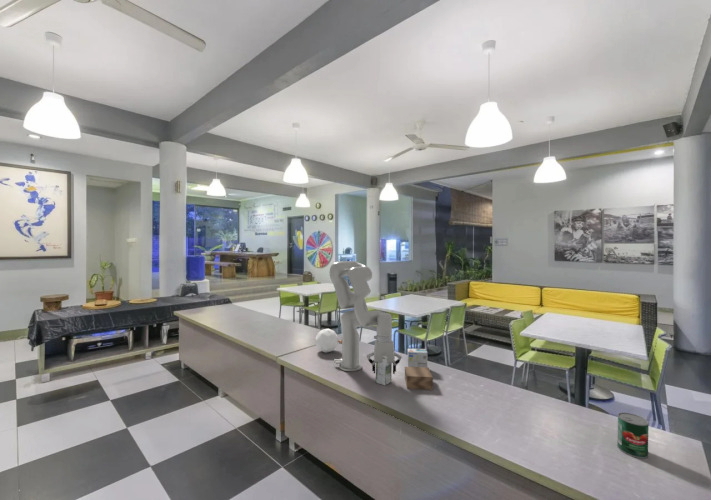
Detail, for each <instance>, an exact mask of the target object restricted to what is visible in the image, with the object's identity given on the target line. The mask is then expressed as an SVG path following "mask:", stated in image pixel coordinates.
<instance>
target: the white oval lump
mask: <svg viewBox="0 0 711 500" xmlns="http://www.w3.org/2000/svg"><path fill="white" fill-rule="evenodd" d="M338 344H340V345H342V339H339V338H338V335H337V332H336V331H335V330H333V329H330V328H323V329H321V330H320V331H318V332H317V334H316V336H315V346H316V347H317V349H318V350H319V351H321V352H323V353H325V354H326V353H331V352H333V351H334V350H335V349H336V348H337V346H338Z"/></svg>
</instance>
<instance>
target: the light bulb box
mask: <svg viewBox="0 0 711 500" xmlns="http://www.w3.org/2000/svg"><path fill="white" fill-rule="evenodd" d="M407 367H428V351H427V348H407Z"/></svg>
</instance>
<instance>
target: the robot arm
mask: <svg viewBox="0 0 711 500" xmlns="http://www.w3.org/2000/svg"><path fill="white" fill-rule="evenodd" d="M345 277H348V280H349V283H350V284H349V283H348V281H347V280H346V279H345ZM329 278H330V280H331V284H332V285H333V287H334V291H335V294H336V295H335V296H336V299H337V302H338V306H339V308H340V309H341V310H348V311H345V312H344V313H342V314H341V315H340V324H341V336H342V337H341V340H342V344H341V349H342V350H341V358H339V359H337V358H334V360H333V361H334V363H335V365H339V367H338V368H339V369H340V370H341V371H343V372H357V371H360V370H361V369H362V368H363V367H362V366H363V365H362V364H361V363H360V334H359V332H358V330H357V328H360V327H363V328H370V327H374V326H376V335H374V336H373V339H375V341H374V346H373V349H374V351H372V352H370V353H369V354H367V355H366V358H367V361H368V362H369V363H370V364H371V365H372V366H371V368H372V369H371V370H372V372H373V374H376V362H379V363H382V362H383V358H382V356H387V363H392V374H393V375H395V372H397V365H398V364H400V362H401V361H402V358H403V357H402V355H400V354H398V353H396V352H395V343H394V341H393V334H392V333H393V332H392V331H393V330H392V329H393V324H392V323H393V317H392V314H390V313H387V312H383V311H382V310H379V309H377V310H370V311H369V309H368V306H367V302H366V299H365V298H367V296H369V295H370V294H371V291H372V290H371V288H370V286H369V283H368V282H369V281H371V280H372V279H373V272H372V270H371V268H370V267H368V266H367V265H365V264H363V263H360V262H358V261H355V260H349V261H348V260H342V261H336V262H334V263H332V264H331V265H330V268H329ZM350 285H351V288H352V290H353V291H352V290H351V288H350ZM350 309H352V310H350ZM371 357H373V359H372V358H371ZM395 357H396V358H397V359H396V360H395Z"/></svg>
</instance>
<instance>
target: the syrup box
mask: <svg viewBox="0 0 711 500" xmlns="http://www.w3.org/2000/svg"><path fill="white" fill-rule="evenodd" d="M382 358H383V362H382V363H379V362H376V363H375V383H377V384H379V385H382V386H387V385H388V384H390V383H391V382H392V374H393V363H387V356H382Z"/></svg>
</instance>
